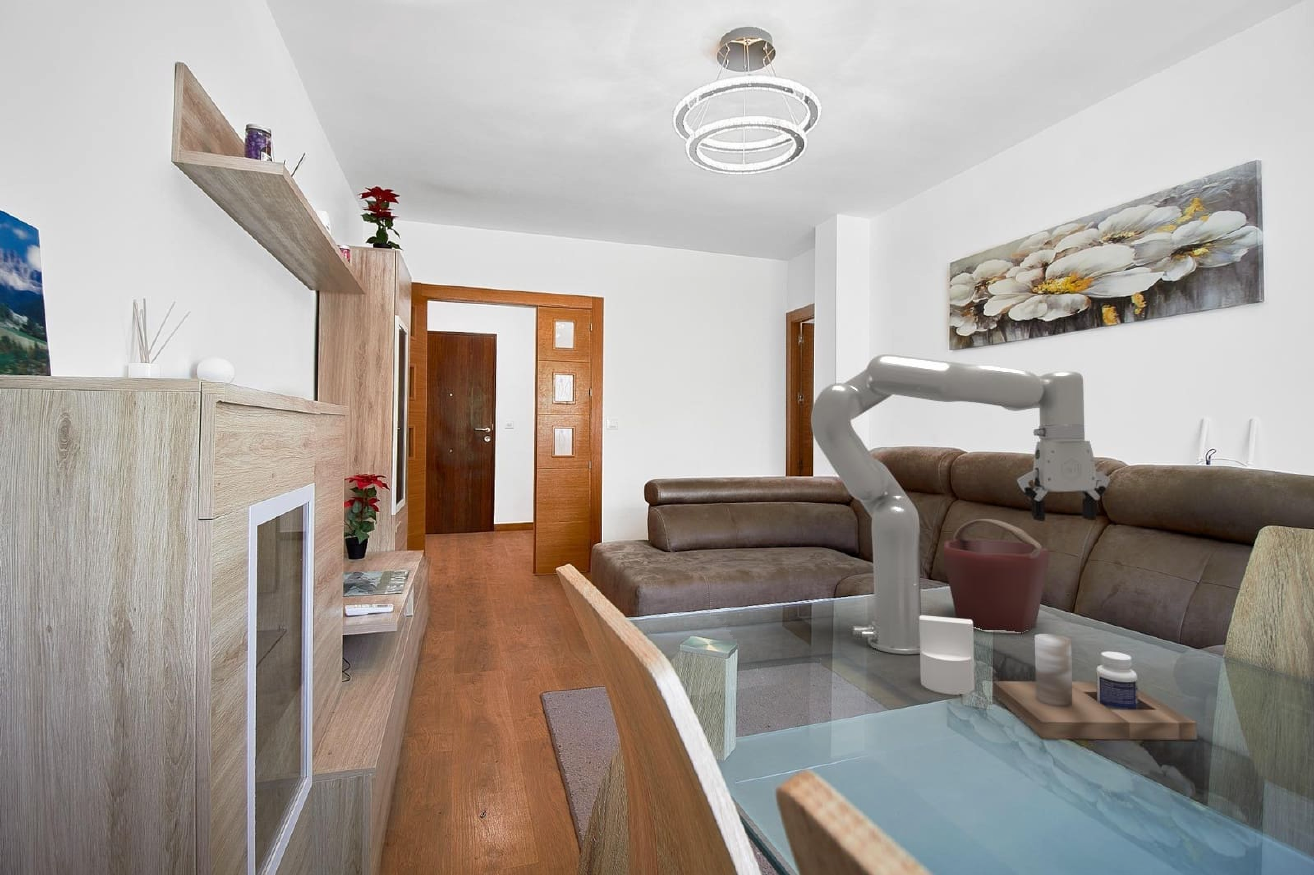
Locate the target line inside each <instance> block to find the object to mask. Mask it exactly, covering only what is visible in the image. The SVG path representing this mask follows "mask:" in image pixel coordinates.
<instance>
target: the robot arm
mask: <svg viewBox="0 0 1314 875" xmlns="http://www.w3.org/2000/svg"><path fill="white" fill-rule="evenodd" d="M1084 392H1085V391H1084V377H1083V375H1082V373H1079V372H1076V371H1058V372H1057V371H1056V372H1049V373H1044V374H1043V375H1036V374H1035V373H1032V372H1030V371H1027V370H1021V369H1014V368H1007V367H1006V368H1004V367H999V366H998V367H996V366H990V365H989V366H988V365H979V364H970V363H969V364H968V363H963V362H962V363H960V362H954V361H944V360H937V359H936V360H935V359H927V358H920V357H912V356H905V355H898V354H897V355H896V354H879V355H877V356H875V357H873V358H872V359H871V360H870V361H869V363H868V365H867V367H866V368H865V369H864V370H863V371H862V372H860V373H858V374H857V375H855V376H854V377H852V378H850V379H848V380H847V381H846V382H839V383H838V382H836V383H832V384H829V385H828V386H826V387H824V388H823V389H822V391H820V393H819V394H818V396H817V398H816V400H815V401H814V404H813V406H812V410H811V416H810V424H811V430H812V434H813V437H814V439H815V441H816V443H817V445H818V447H819V448H820V450H821V451H822V453H823V454H824V456H825V457H826V459H827V460H828V462H829V464H830V465H831V467H832V468H833V471H835V473H836V474H837V475H838V477H839V479H840V480H841V482H842V483H843V485H844V487H845V488H846V490H847V492H848V493H849V494H850V495H851V496H852V497H853V498H854V499H855V500H858V501H859V502H860V503H861V505H862V506H863V507H864V509H865V510H866V511H867V512H866V513H868V515H870V517H871V539H872V540H871V541H872V542H871V543H872V562H873V564H872V565H873V566H872V567H873V568H872V569H873V570H872V571H873V593H874V594H873V595H874V598H873V599H874V600H873V601H874V605H873V606H874V620H871V621H870V624H867V625H866V626H862V625H853V626H852V634H853V636H861V638H867V643H868V645H869V644H870V645H871V646H870V645H869V646H870V647H872V648H873V649H875V648H876V649H875V650H878V651H881V652H884V653H889V654H895V655H896V654H898V655H918V654H920V631H919V617H920V616H921V615H922V602H921V601H922V600H921V595H922V594H921V562H920V561H921V560H920V559H921V558H920V556H921V554H920V531H921V530H920V517H919V516H920V515H919V513H918V510H917V508H916V507H915V504H914V503H913V501H911V499H910V498H909V497H908V495H907V494H906V492H905V491H904V489H903V488H902V486H901V485H900V483H898V481H897V480H896V478H895V476H894V475H893V474H892V473H891V471H890V470H889V468H888V467H887V466H886V465H885V464H884V463H883V462H881V461H880V460H877V459H876V458H875V457H874V456H873V455H872V454H871V452H870V451H869V449H868V448H867V447H866V445H865V444H864V442H863V441H862V439H861V437H860V436H859V435H858V434H857V432H856V431H855V429H854V427H853V425H852V422H851V421H852V420H854V419H856V418H858V417H859V416H861V415H863V414H864V413H866V412H868V411H869V410H870V409H873V407H876V406H877V405H879V404H881V403H882V402H884V401H885V400H887V399H888V398H891V396H893V395H894V396H900V397H901V396H902V397H907V398H914V399H915V398H916V399H922V400H929V401H932V402H933V401H935V402H942V403H951V402H952V403H953V402H963V403H964V402H967V403H976V404H983V405H991V406H997V407H1002V408H1004V409H1005V410H1008V411H1013V412H1018V411H1024V410H1031V409H1039V425H1038V428H1034V430H1033V436H1036V437H1037V436H1038V438H1039V439H1040V440H1039V441H1037V442H1036V445H1035V449H1034V457H1033V467H1032V470H1031V471H1029V472H1027V473H1026V474H1024V475H1022V476H1020V477H1018V478H1016V482H1017V483H1018V486H1019V487H1020V489H1021V492H1022V493H1023V494H1024V495H1025V496H1027V498H1028V499H1029V500H1031V501H1030V503H1031V504H1030V506H1031V510H1030V511H1031V515H1032V518H1033V520H1035V521H1038V522H1039V521H1040V522H1045V520H1046V507H1045V505H1046V504H1045V501H1044V500H1042V499H1043V498H1045V496H1046V494H1047V493H1048V492H1053V493H1055V492H1058V493H1059V492H1060V493H1061V492H1064V493H1065V492H1080V493H1081V494H1082V495H1083V496H1084V498H1082V504H1081V505H1082V518H1083V519H1085V520H1088V521H1096V520H1097V515H1098V506H1097V504H1098V503H1097V502H1098V500H1100V499H1101V496H1102V495H1103V494H1104V493H1105V492H1106V489H1107V487H1108V485H1109V483H1110V481H1111V477H1109V476H1108V475H1106V474H1103V473H1101V472H1099V471H1097V470H1096V462H1095V458H1094V452H1093V448H1092V445H1091V442H1090V440H1086V439H1085V438H1086V436H1085V400H1084ZM1031 481H1032V482H1033V487H1034V488H1031V487H1030V484H1029V482H1031Z"/></svg>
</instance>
